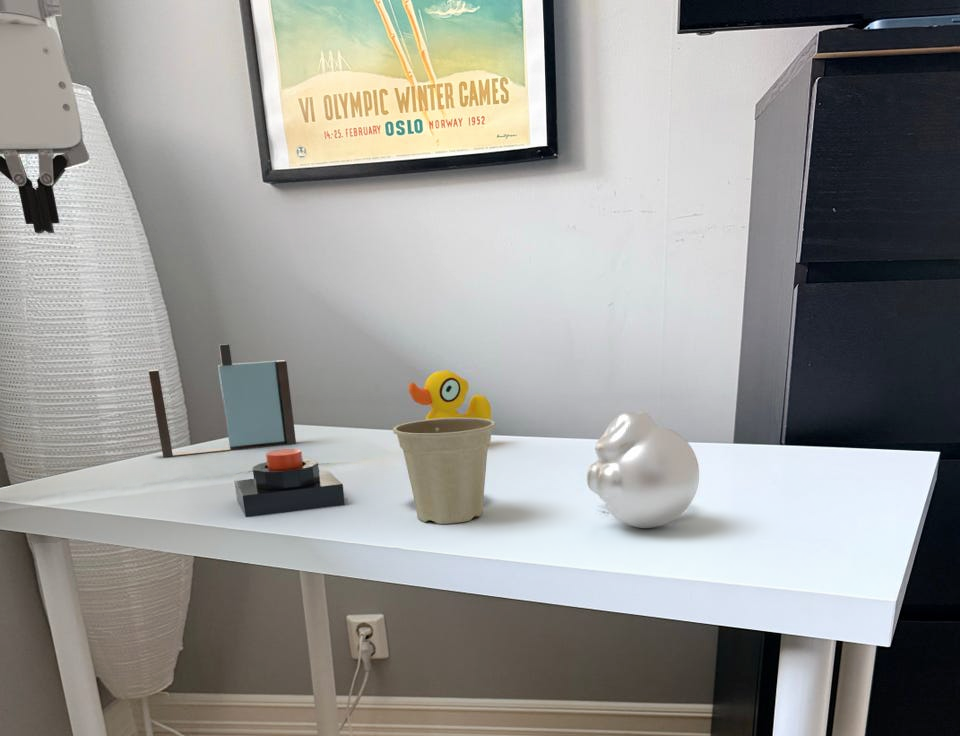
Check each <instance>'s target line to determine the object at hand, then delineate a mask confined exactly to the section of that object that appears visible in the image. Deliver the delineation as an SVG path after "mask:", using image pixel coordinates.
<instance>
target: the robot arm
mask: <svg viewBox="0 0 960 736" xmlns="http://www.w3.org/2000/svg"><path fill="white" fill-rule="evenodd" d="M54 17H63V13H62V9H61V2H60V0H0V173H1V174H2V175H3V176H5V177H6V178H7V179H8V180H9V181H10V182H11V183H13V184H14V185H16V187H17V188H18V194H19V196H20V197H19V198H20V204H21V208H22V213H23V217H24V218H23V219H24V222H25V224H26V225H33V231H34V233H36V234H43V233H45V232H46V233H47V234H55V228H54V225H55V224H60V218H59V212H58V208H57V207H58V206H57V201H56V197H55V192H54V188H55V186H56V184H57V183H58V181H59V180H60V178H62V176H63V174H64V173H65V172H66V171H67V170H68V169H72V168H77V167H80V166H84V165H86V164H89V163H90V161H91V158H90V154H89V152H88V150H87V147H86V145H85V143H84V135H83V128H82V121H81V117H80V111H79V108H78V102H77V98H76V95H75V90H74V85H73V81H72V78H71V77H72V76H71V72H70V69H69V65H68V61H67V57H66V54H65V51H64V49H63V45H62V43H61V40H60V38H59V35H58V33H57V31H56V30H55V28H52V27H51V26H48V22H51V21H50V18H51V19H52V18H54ZM2 155H3V156H4V157H3V156H2ZM21 155H37V157H38V174H39V177H38V178H37V179H36V183H37V187H34V185H33V181H32V179H30V178H29V177H28V174H27V172H26V169H25V165H24V164H23V160H22V158H21Z"/></svg>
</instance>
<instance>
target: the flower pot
mask: <svg viewBox="0 0 960 736" xmlns="http://www.w3.org/2000/svg"><path fill="white" fill-rule="evenodd" d="M495 427H496V421H494V420H493V419H491V420H489V419H482V418H438V419H430V420H425V419H421V420H414V421H409V422H404V423H401V424H398V425H395V426H394V427H393V428H392V431H393V434H395V435H397V439H398V440H397V441H398V443H399V447H400V449H401V450H402V451H403V455H404V456H403V457H404V460H405V461H404V462H405V465H406V469H407V474H408V478H409V483H410V487H411V492H412V496H413V502H414V506H415V510H416V516H417V519H419V520H420V521H421V522H424V523H426V522H430V521H432V522H434V523H436V524H439V525H450V524H455V523H456V524H459V523H460V524H461V523H466V522H470V521H472V520H473V518H480V517H481V516H482V515H483V512H484V496H485V486H486V485H485V484H486V471H487V461H488V460H487V459H488V449H489V444H490V443H491V440H492V432H493V431H492V430H493V429H494V428H495Z"/></svg>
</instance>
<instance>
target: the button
mask: <svg viewBox="0 0 960 736" xmlns="http://www.w3.org/2000/svg"><path fill="white" fill-rule="evenodd" d="M302 452H303V451H302V450H301V449H297V448H283V449H275V450H270V451H268V452H265V459H266V462H267V467H268V469H290V468H296V467H300V466H303V460H302V459H303V453H302Z"/></svg>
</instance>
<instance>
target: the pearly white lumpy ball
mask: <svg viewBox="0 0 960 736" xmlns="http://www.w3.org/2000/svg"><path fill="white" fill-rule="evenodd" d="M594 452H595V454H596V456H597V461H595V462H593V463H592V464H591V465H590V466H589V467H588V469H587V472H586V483H587V486H588V488H589V490H590V491H591V492H593V493H594V494H596V495H597V496H598V497H599V498H600V500H601V501H603V502H604V503H605V508H606V510H607V512H608V513H609V514H610V516H612V517H614V518H615V519H616V520H618V521H619V522H621V523H623V524H625V525H628V526H629V527H634V528H640V529H651V528H658V527H661V526H664V525H667V524H669V523H671V522H673V521H674V520H676V519H678V518H679V517H680V516H681V515H683V513H685V511H686V510H687V509H688V508H689V506H690V505H691V504H692V502H693V501H694V498H695V497H696V495H697V492H698V487H699V484H700V483H699V482H700V467H699V462H698V458H697V456H696V455H697V454H696V453H695V451H694V450H693V447H692V446H691V445H690V443H689V442H688V441H687V440H686V439H685V438H684V437H683V436H682V435H681V434H679V433H678V432H677V431H675V430H673V429H671V428H669V427H667V426H664V425H659V424H657V423H656V422H654V420H653V419H652V418H651V416H650V414H649V413H648V412H645V411H639V412H633V411H624V412H621V413H620V414H618V415H617V416H616V417H615V418H614V419H612V421H611V422H610V423H609V425H608V426H607V428H606V429H605V432H604V433H602V435H600V437H599V439H598V440H597V442H596V444H595V446H594Z"/></svg>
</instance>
